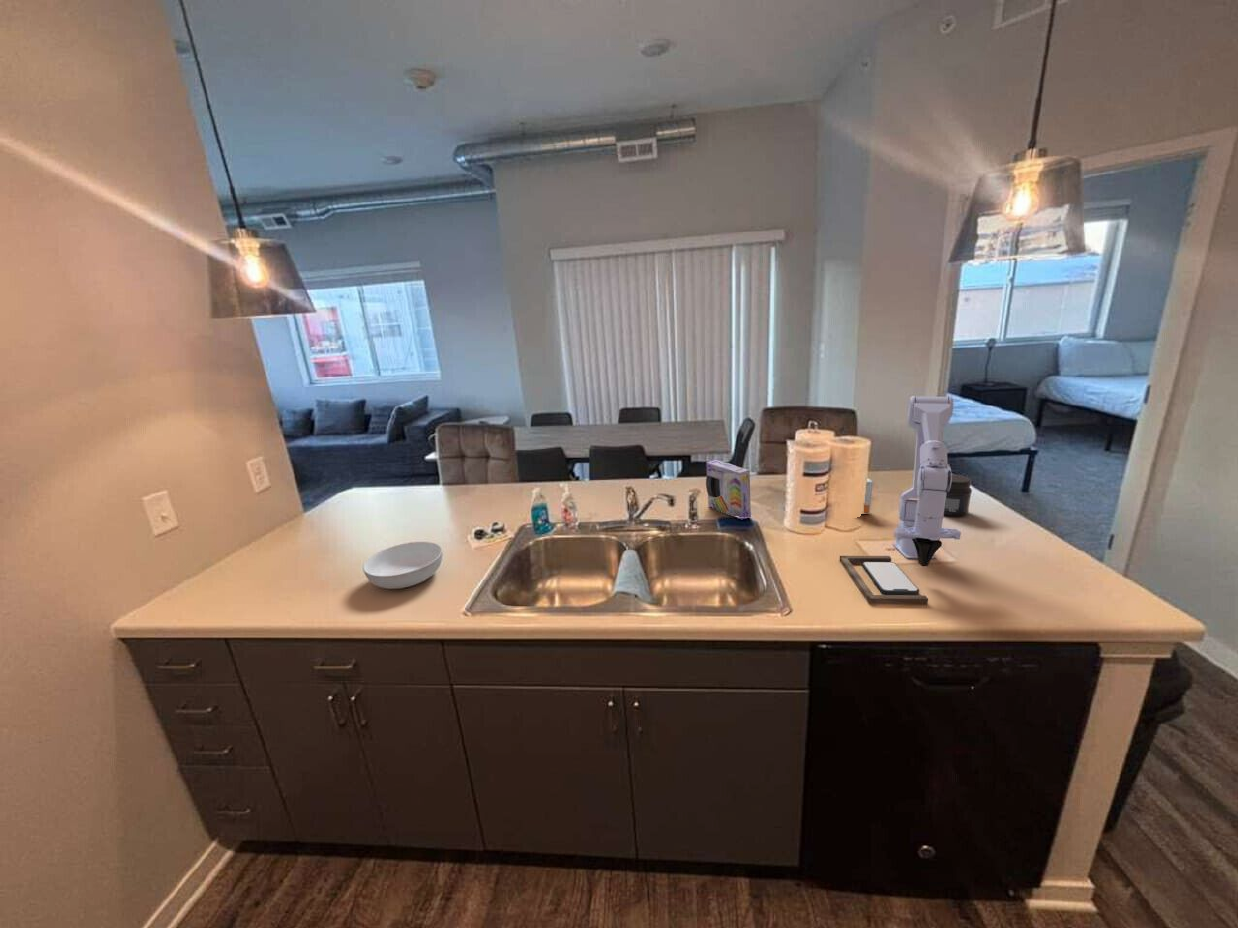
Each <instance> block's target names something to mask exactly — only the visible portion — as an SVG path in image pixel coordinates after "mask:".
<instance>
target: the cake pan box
mask: <svg viewBox="0 0 1238 928" xmlns="http://www.w3.org/2000/svg"><path fill="white" fill-rule="evenodd" d="M705 465H706V478H705V488H706V492H707V502H708V503H707V504H708V506H709V507H708V508H710V507H712V508H711V509H713V508H714V509H713V510H715V509H716V510H715V511H717V510H718V511H717V512H720V511H721V512H720V513H722V512H723V513H722V514H724V513H726V514H725V515H727V514H729V515H733V516H739V517H752V516H751V515H752V513H751V477H750V475H751V474H750V473H751V472H750V469H748V468H747V469H746V468H743V467H740V466H737V465H734V464H732V463H729V462H724V461H721V460H718V459H713V460H711V461H707V462H706V464H705ZM729 515H728V516H729Z"/></svg>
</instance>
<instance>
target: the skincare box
mask: <svg viewBox="0 0 1238 928" xmlns="http://www.w3.org/2000/svg"><path fill="white" fill-rule="evenodd" d="M873 485H874V481H872V480H871V479H870V478H868V477H867V484H866V494H865V503H864V513H865V514H869V515H870V514H871V513H870V511H871V503H872V496H873V495H872V494H873Z"/></svg>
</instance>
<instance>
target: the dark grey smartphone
mask: <svg viewBox="0 0 1238 928" xmlns="http://www.w3.org/2000/svg"><path fill="white" fill-rule="evenodd" d="M861 567H862V569H863V570H864V572H865V573H866V574H867V575H868V577H869V578H870V580H871V581H872V583H873V584H874V585H875V587H876V588H877V590H878V592H880V593H881V595H919V594H920V589H919V588H918V587H917V586H916V585H915V584H914V582H913V581H912V580H911V579H910V578H909V577H908V576H907V575H906V573H905V572H904V571H903V570H902V569H901V568H900V567H899V566H898V565H897V564H896V562H893V561H891V562H863V563H861Z"/></svg>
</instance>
